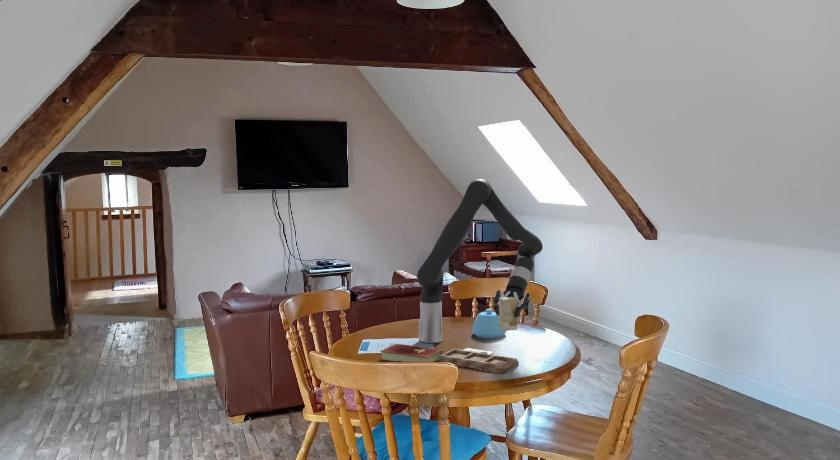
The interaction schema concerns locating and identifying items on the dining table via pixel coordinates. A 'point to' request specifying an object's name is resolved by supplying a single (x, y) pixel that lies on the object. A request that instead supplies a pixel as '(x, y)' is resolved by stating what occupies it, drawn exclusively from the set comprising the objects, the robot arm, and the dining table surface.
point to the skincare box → (507, 313)
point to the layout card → (478, 351)
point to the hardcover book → (410, 353)
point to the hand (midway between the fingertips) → (506, 315)
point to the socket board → (479, 360)
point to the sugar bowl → (487, 325)
